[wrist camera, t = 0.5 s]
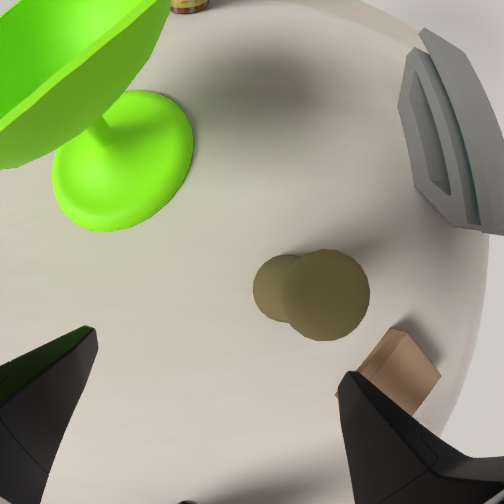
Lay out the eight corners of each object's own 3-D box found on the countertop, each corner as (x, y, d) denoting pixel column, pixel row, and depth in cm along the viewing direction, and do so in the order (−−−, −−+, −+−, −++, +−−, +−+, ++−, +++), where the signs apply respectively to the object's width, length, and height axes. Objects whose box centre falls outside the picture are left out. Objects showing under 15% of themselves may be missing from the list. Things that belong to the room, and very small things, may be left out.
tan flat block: (378, 428, 24) (391, 439, 21) (334, 395, 24) (346, 406, 21) (426, 368, 25) (442, 374, 22) (391, 326, 25) (408, 330, 22)
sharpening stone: (459, 245, 27) (523, 235, 17) (420, 243, 26) (493, 230, 16) (424, 87, 30) (464, 52, 19) (386, 71, 29) (424, 27, 18)
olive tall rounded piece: (314, 252, 25) (381, 234, 14) (320, 316, 24) (387, 341, 13) (249, 257, 24) (275, 242, 13) (256, 325, 23) (286, 364, 13)
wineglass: (140, 262, 23) (-11, 229, 5) (31, 194, 22) (-83, 133, 4) (223, 118, 25) (238, -42, 7) (107, 79, 24) (59, -33, 6)
